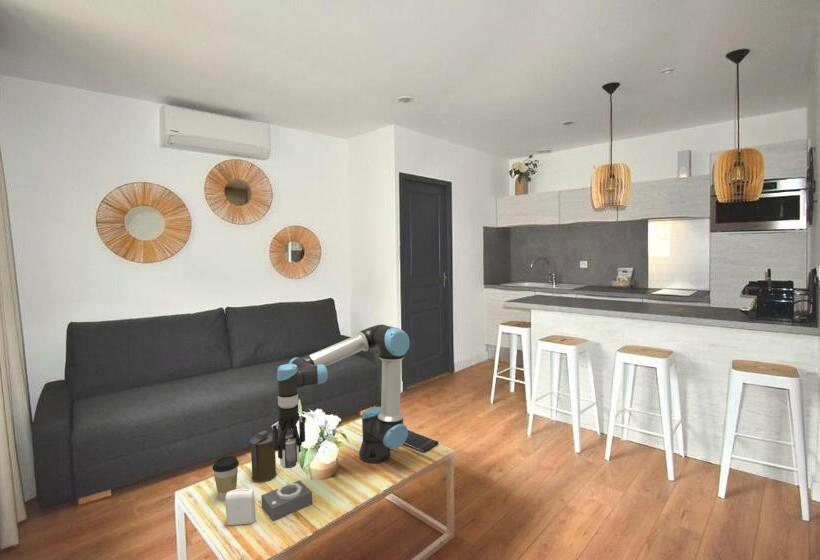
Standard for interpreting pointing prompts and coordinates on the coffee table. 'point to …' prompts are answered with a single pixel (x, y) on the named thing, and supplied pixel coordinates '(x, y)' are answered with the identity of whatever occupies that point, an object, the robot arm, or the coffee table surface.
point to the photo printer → (240, 507)
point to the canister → (263, 457)
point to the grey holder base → (286, 500)
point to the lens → (290, 451)
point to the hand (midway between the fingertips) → (289, 463)
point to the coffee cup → (225, 475)
